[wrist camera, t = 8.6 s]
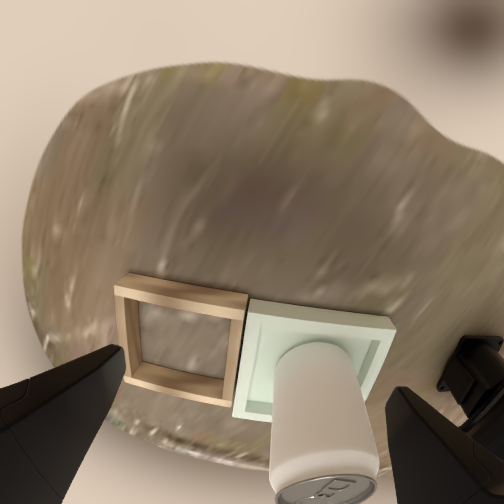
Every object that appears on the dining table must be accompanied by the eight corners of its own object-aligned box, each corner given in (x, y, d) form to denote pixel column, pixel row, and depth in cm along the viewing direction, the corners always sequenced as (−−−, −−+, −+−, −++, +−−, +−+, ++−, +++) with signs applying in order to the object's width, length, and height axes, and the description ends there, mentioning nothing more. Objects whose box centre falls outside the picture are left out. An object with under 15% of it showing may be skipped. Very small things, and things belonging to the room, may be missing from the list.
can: (260, 382, 24) (246, 507, 12) (299, 326, 22) (310, 463, 10) (324, 405, 24) (336, 519, 13) (367, 355, 22) (408, 476, 11)
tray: (388, 316, 22) (396, 330, 20) (348, 411, 25) (351, 427, 23) (250, 298, 22) (247, 312, 20) (235, 400, 25) (231, 416, 23)
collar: (248, 294, 22) (244, 310, 20) (234, 388, 25) (230, 407, 22) (128, 272, 22) (113, 284, 20) (135, 365, 25) (124, 381, 23)
